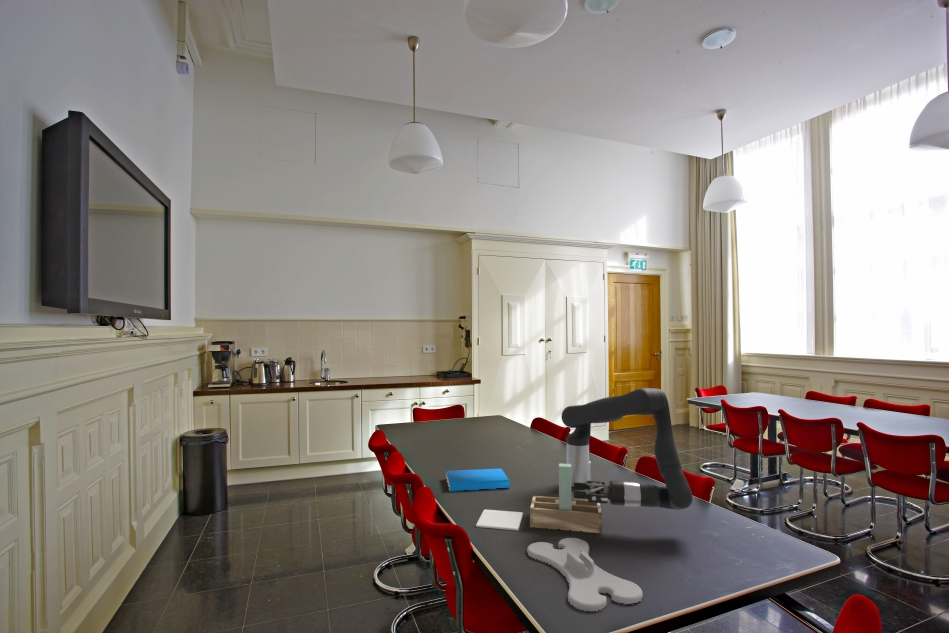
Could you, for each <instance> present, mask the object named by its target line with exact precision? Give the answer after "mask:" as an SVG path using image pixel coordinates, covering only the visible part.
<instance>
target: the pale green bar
mask: <svg viewBox="0 0 949 633" xmlns="http://www.w3.org/2000/svg"><path fill="white" fill-rule="evenodd" d="M572 494H573V493H572V486H571V464H567V463H558V498H559V510H567V511H572V499H573V498H572Z"/></svg>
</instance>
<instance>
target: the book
mask: <svg viewBox="0 0 949 633" xmlns="http://www.w3.org/2000/svg"><path fill="white" fill-rule="evenodd" d="M445 472H446V473H445V474H446V476H445V478H446V479H447V480H446V483H448V484H447V487H449V488H448V490H449V492H464V490H469V491H480V490H479V489H489V490H497V489H496V488H509V489H510V479H509V477H508V476H507V474H506V473H505V472H504V470H503V468H485V469H484V468H483V469H481V468H480V469H463V470H461V469H460V470H457V469H456V470H445Z"/></svg>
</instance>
